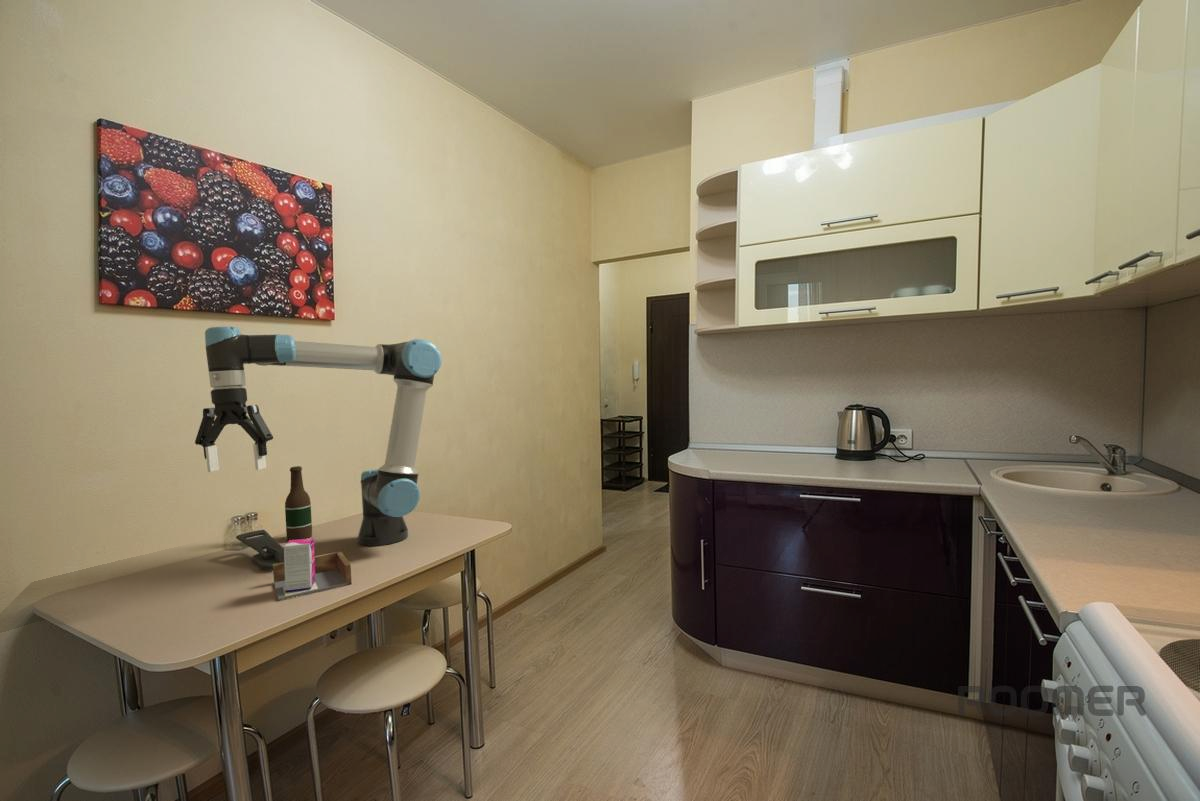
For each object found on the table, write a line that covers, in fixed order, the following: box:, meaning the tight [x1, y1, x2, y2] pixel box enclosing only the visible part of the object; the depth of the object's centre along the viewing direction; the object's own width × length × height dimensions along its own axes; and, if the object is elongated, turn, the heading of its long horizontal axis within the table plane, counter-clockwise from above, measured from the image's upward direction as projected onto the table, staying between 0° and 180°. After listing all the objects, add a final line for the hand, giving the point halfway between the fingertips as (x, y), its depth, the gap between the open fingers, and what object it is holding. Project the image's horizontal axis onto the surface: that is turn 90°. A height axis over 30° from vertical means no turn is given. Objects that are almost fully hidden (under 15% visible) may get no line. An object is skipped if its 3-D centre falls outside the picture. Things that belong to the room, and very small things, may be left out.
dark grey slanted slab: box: [235, 529, 284, 573], centre depth 156 cm, size 9×7×25 cm
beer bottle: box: [284, 465, 313, 541], centre depth 177 cm, size 8×8×24 cm
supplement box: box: [283, 537, 316, 593], centre depth 132 cm, size 6×6×12 cm
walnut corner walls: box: [273, 550, 352, 586], centre depth 136 cm, size 16×14×5 cm
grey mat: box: [273, 569, 352, 601], centre depth 136 cm, size 16×14×1 cm
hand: (237, 470), depth 138 cm, fingers open, 13 cm apart
